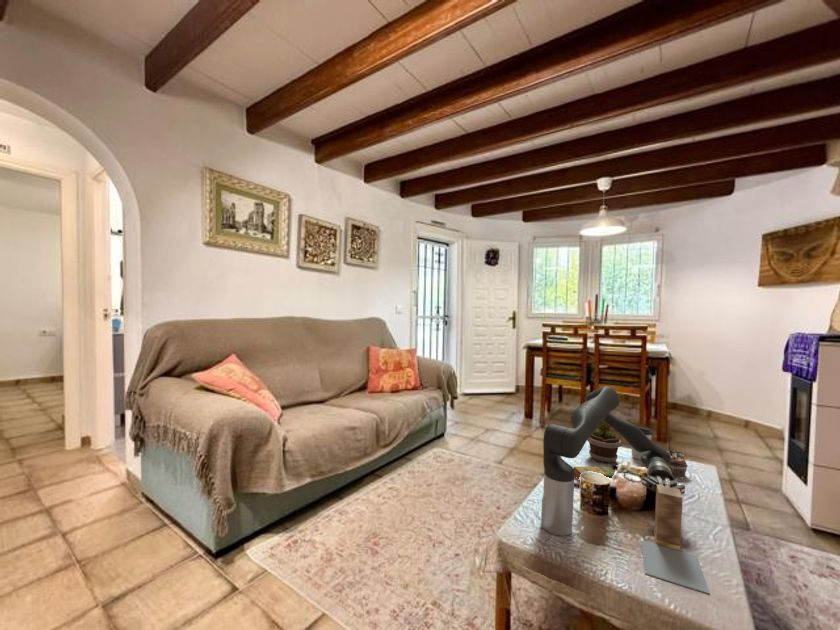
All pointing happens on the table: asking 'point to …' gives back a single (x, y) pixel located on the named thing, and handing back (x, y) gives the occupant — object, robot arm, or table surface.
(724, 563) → the table surface
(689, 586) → the slate mat
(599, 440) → the flowerpot
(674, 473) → the cupcake
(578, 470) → the carton
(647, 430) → the coffee cup
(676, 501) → the walnut block
